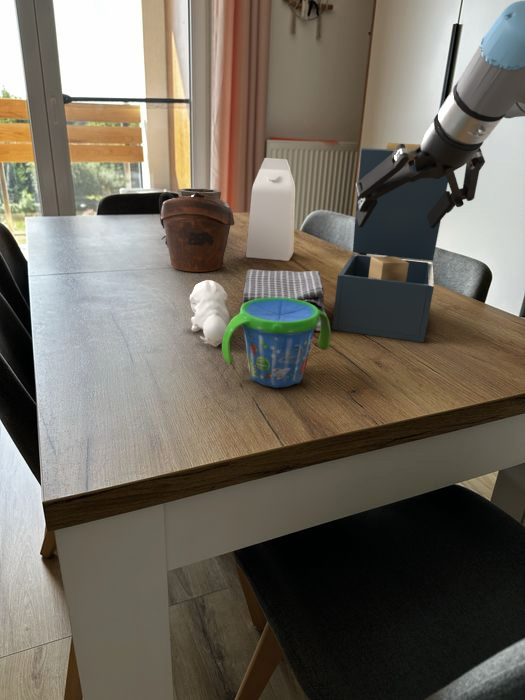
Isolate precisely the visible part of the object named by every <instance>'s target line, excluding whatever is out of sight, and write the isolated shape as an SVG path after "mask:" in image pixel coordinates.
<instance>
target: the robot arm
mask: <svg viewBox="0 0 525 700" xmlns="http://www.w3.org/2000/svg"><path fill="white" fill-rule="evenodd" d="M520 117H521V118H522V117H525V0H518V1H515V2H512V3H511V4H509V5H508V6H507V7H505V8H504V9H503V11H502V12H501V14H500V15H499V16H498V17H497V18H496V19H495V21H494V23H493V24H492V25H491V27H490V28H489V29H488V31H487V32H486V33H485V35H484V36H483V37H482V39H481V42H480V43H479V45H478V48H477V49H476V50H475V53H474V54H473V56H472V58H471V59H470V61H469V62H468V64H467V65H466V67H465V69H464V70H463V72H462V73H461V75H460V77H459V78H458V81H457V82H456V83H455V85H454V86H453V87H452V89H451V91H450V92H449V94H448V96H447V97H446V98H445V100H444V102H443V103H442V105H441V106H440V108H439V110H438V112H437V114H436V115H435V116H434V118H433V119H432V121H431V122H430V124H429V126H428V127H427V129H426V131H425V133H424V136H423V139H422V141H421V145H420V146H419V147H417V148H416V149H415V150H409V149H406V147H405V144H406V143H402V144H400V145H398V146H397V148H396V149H395V150H394V152H393V153H392V154H391V155H390V156H389V157H388V158H387V159H385V160H384V161H383V162H382V163H380V164H379V165H378V166H377V167H375V168H374V169H373V170H372V171H370V172H369V173H368V174H367V175H365V176H364V177H363V178H362V179H361V180H359V181H358V180H357V182H356V183H355V187H356V193H357V192H358V196H359V198H360V200H359V202H358V206H359V209H358V211H357V212H356V211H355V216H356V218H357V222H358V227H363V226H364V224H365V223H366V221H367V219H368V218H369V216H370V214H371V213H372V211H373V210H374V208H375V206H376V205H377V203H378V202H377V198H379V197H381V196H383V195H385V194H387V193H388V192H390V191H392V190H394V189H396V188H398V187H400V186H401V185H403V184H405V183H407V182H409V181H410V182H415V181H417V180H418V179H420V178H425V179H426V178H434V179H440V178H441V177H444V176H446V177H447V180H448V186H449V189H450V190H446V191H445V192H444V194H443V195H442V196H441V198H440V199H439V200H438V201H437V203H436V204H435V205H434V207H433V208H432V209H431V210H430V212H429V213H428V214H427V218H428V221H429V225H430V228H435V227H436V225H437V224H438V223H439V222H440V220H442V219H443V218H444V217H445V216H446V215H447V214H448V213H450V212H451V211H452V210H453V209H454V208H455V207H456V208H461V207H463V206H464V204H465V203H464V201H465V200H466V201H467V202H471V201H473V200H474V199H475V196H476V191H477V185H478V181H479V176H480V171H481V170H482V168H483V167H484V165H485V163H486V160H485V157H484V155H483V152H482V149H481V147H482V145H483V144H484V142H485V141H486V140H487V139H488V137H490V135H491V134H492V133H493V131H494V130H495V129H496V127H497V126H498V124H500V122H501V121H502V119H513V118H520ZM413 164H415V168H416V173H414V174H413V171H412V165H413ZM464 166H465V171H464V177H463V184H462V188H460V187H459V184H458V181H457V178H456V177H457V176H456V173H455V172H456V171H457V170H458V169H460V168H462V167H464ZM440 223H441V222H440Z"/></svg>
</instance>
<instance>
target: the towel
mask: <svg viewBox="0 0 525 700" xmlns="http://www.w3.org/2000/svg"><path fill="white" fill-rule="evenodd" d="M244 282H245V283H244V290H243V292H242V293H243V295H242V301H241V306H242V305H243V304H244V303H246V302H248V301H251V300H255V299H260V298H290V299H296V300H301V301H304V302H307V303H310V304H312V305H314V306H315V307H317V308H318V310H320V311H321V312H323V313H324V314H325V315H326V316H327V317H328V314H327V313H326V309H325V296H324V295H325V294H326V293H325V291H324V287H323V281H322V276H321V272H320V271H318V270H317V271H316V270H311V271H309V270H306V271H291V270H284V269H283V270H265V269H264V270H263V269H254V268H253V269H247V271H246V276H245V281H244ZM320 326H321V317H320V316H319V322H318V324H317V326H316V327H315V329H314V332H320Z"/></svg>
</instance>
